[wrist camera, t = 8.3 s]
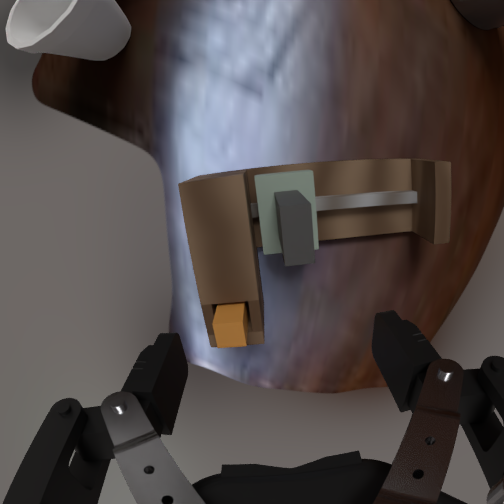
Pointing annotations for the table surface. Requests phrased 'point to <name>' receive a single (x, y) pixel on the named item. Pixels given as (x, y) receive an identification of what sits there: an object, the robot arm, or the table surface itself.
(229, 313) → the button
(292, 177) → the sliding handle
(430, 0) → the table surface
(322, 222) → the brown mechanism housing
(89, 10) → the foam cup
